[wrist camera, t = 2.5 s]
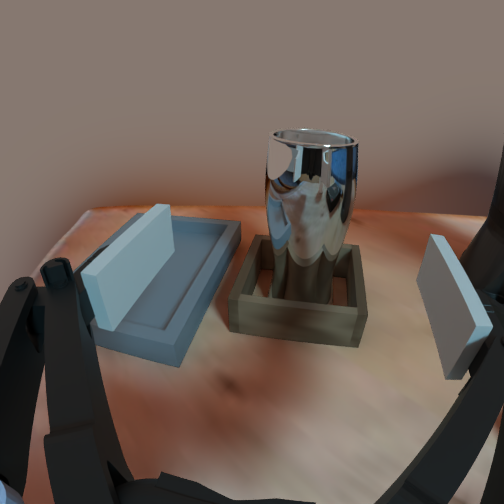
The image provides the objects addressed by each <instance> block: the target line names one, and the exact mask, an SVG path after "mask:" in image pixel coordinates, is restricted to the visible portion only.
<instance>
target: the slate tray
mask: <svg viewBox="0 0 504 504" xmlns="http://www.w3.org/2000/svg"><path fill="white" fill-rule="evenodd" d="M143 215H144V214H143V213H137V214H136V215H135V216H134V217H132V218H131V219H130V220H129V221H128V222H127V223H126V224H124V225H123V226H122V227H121V228H120V229H119V230H118V231H116V232H115V233H114V234H113V235H112V236H111V237H110V238H109V239H108V240H106V241H105V242H104V243H103V244H102V245H101V246H100V247H99V248H98V249H97V250H95V251H94V252H93V253H92V254H91V255H90V256H89V257H88V258H87V259H86V260H85V261H84V262H83V263H82V264H81V265H80V266H82V265H83V264H84V263H85V262H87V260H88V259H89V258H90V257H92V255H93V254H94V253H96V252H97V251H98V250H99V249H101V248H103V247H105V246H107V245H110V244H111V243H112V242H114V241H115V240H116V239H117V238H118V237H119V236H120V235H121V234H122V233H124V232H125V231H126V230H127V229H128V228H129V227H130V226H131V225H133V224H134V223H135V222H136V221H137V220H138V219H140V218H141V217H142V216H143ZM171 222H172V232H173V241H174V249H175V251H174V253H173V254H172V255H171V256H170V258H169V259H168V260H167V261H166V263H165V264H164V265H163V267H162V268H161V269H160V270H159V272H158V273H157V274H156V276H155V277H154V278H153V279H152V281H151V282H150V283H149V285H148V286H147V287H146V288H145V290H144V291H143V292H142V294H141V295H140V296H139V298H138V299H137V300H136V302H135V303H134V304H133V306H132V307H131V308H130V310H129V311H128V312H127V314H126V315H125V316H124V318H123V319H122V320H121V322H120V323H119V324H118V326H117V327H116V329H115V330H114V331H113V332H112V331H109V330H105V329H102V328H99V327H98V324H97V322H96V319H95V317H94V318H93V320H92V321H91V322H90V324H91V327H92V330H93V336H94V342H95V345H98V346H101V347H105V348H108V349H111V350H115V351H118V352H122V353H125V354H129V355H132V356H136V357H139V358H143V359H147V360H151V361H155V362H159V363H163V364H167V365H171V366H175V367H180V364H181V362H182V360H183V358H184V356H185V354H186V352H187V350H188V348H189V346H190V344H191V341H192V339H193V337H194V335H195V333H196V331H197V329H198V327H199V325H200V323H201V321H202V319H203V317H204V315H205V313H206V310H207V308H208V306H209V304H210V302H211V300H212V298H213V296H214V294H215V292H216V290H217V288H218V286H219V284H220V282H221V280H222V278H223V276H224V274H225V272H226V270H227V268H228V265H229V263H230V261H231V259H232V257H233V255H234V253H235V251H236V249H237V247H238V245H239V243H240V241H241V221H230V220H219V219H207V218H195V217H183V216H171ZM80 266H79V267H80ZM79 267H77V268H76V269H75V270H74V271H73V273H74V272H75V271H76V270H77V269H78V268H79Z"/></svg>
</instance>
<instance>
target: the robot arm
mask: <svg viewBox="0 0 504 504" xmlns="http://www.w3.org/2000/svg"><path fill="white" fill-rule="evenodd" d="M174 251H175V249H174V241H173V232H172V222H171V212H170V205H167V204H156V205H155V206H154V207H152V208H151V209H150V210H149V211H148V212H146V213H145V214H144V215H143V216H142V217H141V218H140V219H138V220H137V221H136V222H135V223H134V224H133V225H131V226H130V227H129V228H128V229H127V230H126V231H125V232H124V233H122V234H121V235H120V236H119V237H118V238H117V239H116V240H115V241H114V242H112V243H111V244H110V245H107V246H105V247H103V248H101V249H99V250H98V251H97V252H96V253H94V254H93V255H92V257H90V258H89V259H88V260H87V262H85V263H84V264H83V265H82V266H80V267H79V268H78V269H77V270H76V271H75V272H74V273H73V272H72V268H71V265H70V262H69V260H68V259H67V258H61V257H60V258H55V259H52V260H49V261H48V262H46V263H45V264H44V265H43V266H42V267H41V269H40V272H41V275H42V278H43V281H44V283H45V286H46V287H36V285H35V283H34V280H33V278H31V277H21V278H19V279H17V280H15V281H14V282H13V283H12V284H11V285H10V286H9V288H8V290H7V292H6V294H5V296H4V298H3V300H2V302H1V303H0V504H24V501H23V499H22V496H23V492H24V488H25V483H26V476H27V469H28V458H29V449H30V441H31V433H32V426H33V420H34V414H35V408H36V402H37V397H38V392H39V387H40V382H41V377H42V373H43V369H44V364H45V379H46V394H47V405H48V415H49V424H50V434H47V435H45V436H44V450H45V456H46V462H47V468H48V474H49V479H50V484H51V489H52V493H53V498H54V502H55V504H316V503H314V502H303V501H293V500H285V499H277V498H276V499H261V500H232V499H229V498H227V497H225V496H223V495H221V494H219V493H217V492H215V491H213V490H211V489H209V488H207V487H205V486H203V485H201V484H199V483H197V482H194V481H191V480H187V479H184V478H180V477H177V476H174V475H170V474H167V473H164V472H161V474H160V476H159V478H158V479H139V480H134V478H133V476H132V474H131V472H130V470H129V468H128V466H127V464H126V462H125V459H124V456H123V453H122V450H121V447H120V444H119V441H118V437H117V434H116V431H115V427H114V424H113V420H112V417H111V413H110V409H109V405H108V402H107V398H106V394H105V389H104V385H103V381H102V376H101V372H100V367H99V362H98V357H97V352H96V347H95V342H94V336H93V330H92V327H91V324H90V322H91V321H92V320H93V318H94V317H95V319H96V322H97V324H98V327H99V328H102V329H105V330H109V331H112V332H113V331H114V330H115V329H116V327H117V326H118V324H119V323H120V322H121V320H122V319H123V318H124V316H125V315H126V314H127V312H128V311H129V310H130V308H131V307H132V306H133V304H134V303H135V302H136V300H137V299H138V298H139V296H140V295H141V294H142V292H143V291H144V290H145V288H146V287H147V286H148V285H149V283H150V282H151V281H152V279H153V278H154V277H155V276H156V274H157V273H158V272H159V270H160V269H161V268H162V267H163V265H164V264H165V263H166V261H167V260H168V259H169V258H170V256H171V255H172V254H173V253H174ZM416 281H417V284H418V287H419V290H420V293H421V296H422V299H423V302H424V305H425V308H426V311H427V314H428V318H429V321H430V324H431V328H432V331H433V334H434V338H435V341H436V345H437V349H438V352H439V356H440V360H441V364H442V368H443V372H444V376H445V380H461V379H462V378H463V376H464V375H465V373H466V372H467V370H469V373H470V376H471V377H470V379H469V380H468V382H467V383H466V384H465V386H464V387H463V389H462V390H461V391H460V393H459V394H458V395H459V396H458V398H457V399H456V401H455V403H454V404H453V406H452V407H451V409H450V410H449V412H448V413H447V415H446V416H445V418H444V419H443V421H442V422H441V424H440V425H439V426H438V428H437V429H436V431H435V432H434V433H433V435H432V436H431V438H430V439H429V440H428V442H427V443H426V444H425V446H424V447H423V448H422V449H421V451H420V452H419V453H418V455H417V456H416V457H415V458H414V460H413V461H412V462H411V463H410V464H409V466H408V467H407V468H406V469H405V470H404V472H403V473H402V474H401V475H400V476H399V477H398V479H397V480H396V481H395V482H394V483H393V484H392V485H391V486H390V488H389V489H388V490H387V491H386V492H385V493H384V494H383V495H382V496H381V497H380V498H379V499H378V500H377V501H376V502H375V503H374V504H448V502H449V501H450V500H451V498H452V497H453V495H454V494H455V492H456V491H457V489H458V488H459V486H460V485H461V483H462V481H463V480H464V478H465V477H466V475H467V473H468V472H469V470H470V468H471V467H472V465H473V463H474V461H475V460H476V458H477V456H478V454H479V453H480V451H481V449H482V447H483V445H484V443H485V441H486V439H487V437H488V435H489V433H490V431H491V429H492V427H493V425H494V423H495V421H496V419H497V417H498V415H499V412H500V410H501V408H502V406H503V403H504V146H503V152H502V158H501V163H500V168H499V173H498V177H497V182H496V186H495V191H494V195H493V199H492V203H491V207H490V210H489V214H488V217H487V219H486V221H485V222H484V224H483V225H482V227H481V228H480V230H479V231H478V233H477V234H476V236H475V237H474V239H473V240H472V242H471V243H470V245H469V246H468V248H467V249H466V250H465V251H464V252H463V254H462V255H461V257H460V260H458V259H457V257H456V255H455V254H454V252H453V250H452V249H451V247H450V245H449V244H448V242H447V240H446V239H445V237H444V236H442V235H435V234H430V236H429V240H428V244H427V247H426V251H425V254H424V257H423V261H422V264H421V267H420V270H419V274H418V277H417V280H416ZM480 504H504V406H503V413H502V419H501V424H500V430H499V435H498V440H497V444H496V449H495V453H494V457H493V461H492V465H491V469H490V473H489V476H488V480H487V483H486V487H485V490H484V493H483V496H482V499H481V502H480Z"/></svg>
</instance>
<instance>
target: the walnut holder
mask: <svg viewBox="0 0 504 504" xmlns="http://www.w3.org/2000/svg"><path fill="white" fill-rule="evenodd" d="M261 268H264V269H273V254H272V247H271V241H270V236H266V235H256V234H255V237H254V239H253V241H252V244H251V246H250V248H249V251H248V253H247V255H246V258H245V260H244V262H243V265H242V267H241V269H240V272H239V274H238V276H237V279H236V281H235V283H234V286H233V288H232V290H231V293H230V295H229V297H228V311H229V328H230V332H236V333H242V334H248V335H255V336H262V337H269V338H276V339H284V340H292V341H300V342H308V343H317V344H326V345H336V346H346V347H359V343H360V340H361V337H362V334H363V331H364V327H365V324H366V321H367V317H368V311H367V302H366V293H365V285H364V277H363V269H362V262H361V255H360V249H359V245H350V244H343V245H342V247H341V250H340V253H339V256H338V259H337V261H336V264H335V268H334V272H333V276H335V277H344V278H346V280H347V301H348V307H346V306H336V305H327V304H318V303H309V302H300V301H292V300H284V299H276V298H268V297H260V296H252V294H253V291H254V288H255V285H256V282H257V279H258V276H259V273H260V270H261Z"/></svg>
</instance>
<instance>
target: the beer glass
mask: <svg viewBox="0 0 504 504" xmlns="http://www.w3.org/2000/svg"><path fill="white" fill-rule="evenodd" d="M358 144H359V141H358V139H356V138H355V137H352V136H350V135H347V134H344V133H339V132H334V131H329V130H321V129H311V128H286V129H279V130H274V131H271V132H270V133H269V146H268V155H267V165H266V179H265V204H266V214H267V222H268V229H269V235H270V241H271V247H272V254H273V275H272V280H271V283H270V287H269V291H268V298H276V299H284V300H292V301H300V302H309V303H318V304H327V305H332V304H333V285H332V283H333V272H334V268H335V264H336V261H337V259H338V256H339V253H340V250H341V247H342V245H343V242H344V239H345V236H346V233H347V231H348V228H349V224H350V220H351V217H352V213H353V209H354V203H355V197H356V188H357V174H358Z"/></svg>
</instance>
